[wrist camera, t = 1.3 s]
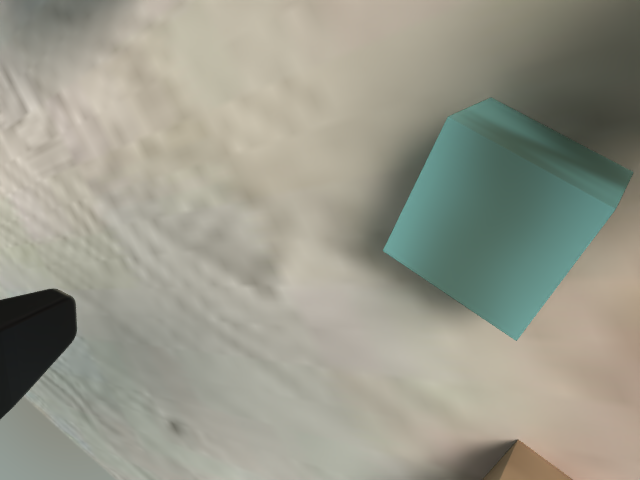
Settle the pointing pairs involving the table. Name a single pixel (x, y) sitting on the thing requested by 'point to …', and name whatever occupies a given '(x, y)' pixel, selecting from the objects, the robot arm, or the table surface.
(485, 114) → the teal cube
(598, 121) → the table surface
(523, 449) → the walnut base block
